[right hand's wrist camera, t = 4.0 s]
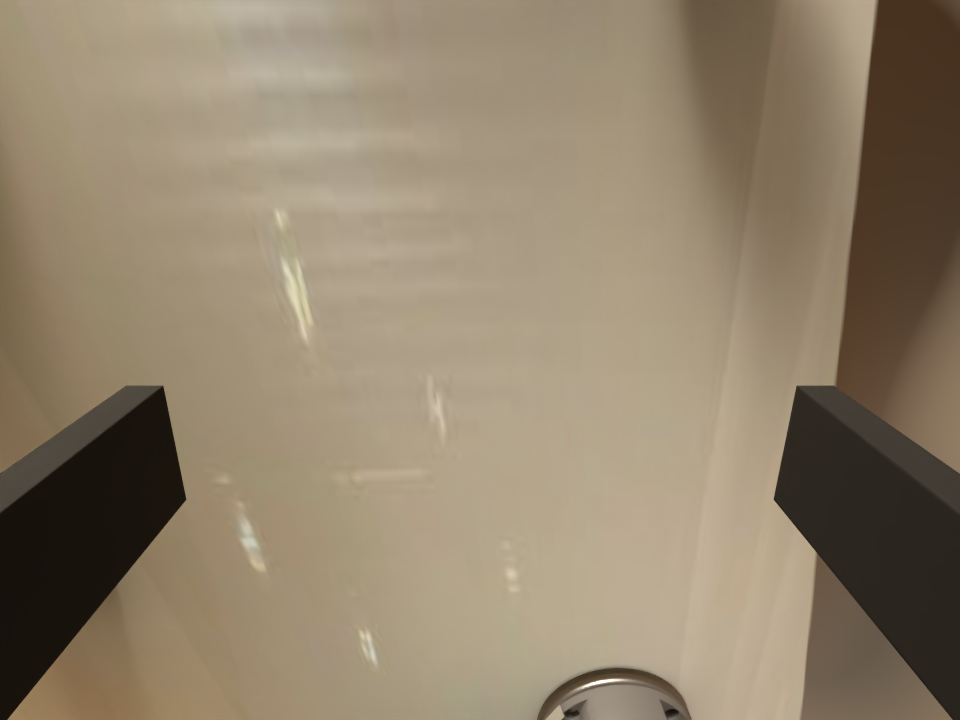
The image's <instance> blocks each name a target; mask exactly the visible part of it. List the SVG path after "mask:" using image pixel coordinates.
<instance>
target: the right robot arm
mask: <svg viewBox="0 0 960 720" xmlns="http://www.w3.org/2000/svg"><path fill="white" fill-rule="evenodd" d="M185 500H186V496H185V491H184V486H183V481H182V476H181V471H180V466H179V461H178V456H177V451H176V446H175V441H174V436H173V432H172V427H171V422H170V417H169V412H168V407H167V402H166V397H165V392H164V387H163V386H125V387H124V388H122V389H121V390H120V391H118V392H117V393H115V394H114V395H112V396H111V397H110V398H108V399H107V400H105V401H104V402H102V403H101V404H100V405H98V406H97V407H95V408H94V409H92V410H91V411H90V412H88V413H87V414H85V415H84V416H82V417H81V418H79V419H78V420H77V421H75V422H74V423H72V424H71V425H69V426H68V427H67V428H65V429H64V430H62V431H61V432H59V433H58V434H57V435H55V436H54V437H52V438H51V439H49V440H48V441H47V442H45V443H44V444H42V445H41V446H39V447H38V448H37V449H35V450H34V451H32V452H31V453H29V454H28V455H27V456H25V457H24V458H22V459H21V460H19V461H18V462H17V463H15V464H14V465H12V466H11V467H9V468H8V469H7V470H5V471H4V472H2V473H1V474H0V720H7V719H8V718H9V717H10V716H11V714H12V713H13V712H14V711H15V709H16V708H17V707H18V706H19V704H20V703H21V702H22V701H23V700H24V698H25V697H26V696H27V695H28V693H29V692H30V691H31V690H32V689H33V687H34V686H35V685H36V684H37V682H38V681H39V680H40V679H41V677H42V676H43V675H44V674H45V673H46V671H47V670H48V669H49V668H50V666H51V665H52V664H53V663H54V661H55V660H56V659H57V658H58V657H59V655H60V654H61V653H62V652H63V650H64V649H65V648H66V647H67V646H68V644H69V643H70V642H71V641H72V639H73V638H74V637H75V636H76V634H77V633H78V632H79V631H80V630H81V628H82V627H83V626H84V625H85V623H86V622H87V621H88V620H89V618H90V617H91V616H92V615H93V614H94V612H95V611H96V610H97V609H98V607H99V606H100V605H101V604H102V602H103V601H104V600H105V599H106V598H107V596H108V595H109V594H110V593H111V591H112V590H113V589H114V588H115V587H116V585H117V584H118V583H119V582H120V580H121V579H122V578H123V577H124V575H125V574H126V573H127V572H128V571H129V569H130V568H131V567H132V566H133V564H134V563H135V562H136V561H137V559H138V558H139V557H140V556H141V555H142V553H143V552H144V551H145V550H146V548H147V547H148V546H149V545H150V543H151V542H152V541H153V540H154V539H155V537H156V536H157V535H158V534H159V532H160V531H161V530H162V529H163V528H164V526H165V525H166V524H167V523H168V521H169V520H170V519H171V518H172V516H173V515H174V514H175V513H176V512H177V510H178V509H179V508H180V507H181V505H182V504H183V503H184V502H185ZM774 500H775V502H776V503H777V504H778V505H779V507H780V508H781V509H782V510H783V512H784V513H785V514H786V515H787V516H788V518H789V519H790V520H791V521H792V523H793V524H794V525H795V526H796V528H797V529H798V530H799V531H800V532H801V534H802V535H803V536H804V537H805V539H806V540H807V541H808V542H809V543H810V545H811V546H812V547H813V548H814V550H815V551H816V552H817V553H818V555H819V556H820V557H821V558H822V559H823V561H824V562H825V563H826V564H827V566H828V567H829V568H830V569H831V570H832V572H833V573H834V574H835V575H836V577H837V578H838V579H839V580H840V581H841V583H842V584H843V585H844V586H845V588H846V589H847V590H848V591H849V593H850V594H851V595H852V596H853V598H854V599H855V600H856V601H857V602H858V604H859V605H860V606H861V607H862V609H863V610H864V611H865V612H866V614H867V615H868V616H869V617H870V618H871V620H872V621H873V622H874V623H875V625H876V626H877V627H878V628H879V630H880V631H881V632H882V633H883V634H884V636H885V637H886V638H887V639H888V641H889V642H890V643H891V644H892V645H893V647H894V648H895V649H896V650H897V652H898V653H899V654H900V655H901V657H902V658H903V659H904V660H905V661H906V663H907V664H908V665H909V666H910V668H911V669H912V670H913V671H914V673H915V674H916V675H917V676H918V677H919V679H920V680H921V681H922V682H923V684H924V685H925V686H926V687H927V689H928V690H929V691H930V692H931V693H932V695H933V696H934V697H935V698H936V700H937V701H938V702H939V703H940V704H941V706H942V707H943V708H944V709H945V711H946V712H947V713H948V714H949V716H950V717H951V718H952V719H953V720H960V474H959V473H958V472H956V471H955V470H953V469H952V468H951V467H949V466H948V465H946V464H945V463H943V462H942V461H941V460H939V459H938V458H936V457H935V456H933V455H932V454H931V453H929V452H928V451H926V450H925V449H923V448H922V447H921V446H919V445H918V444H916V443H915V442H913V441H912V440H910V439H909V438H908V437H906V436H905V435H903V434H902V433H901V432H899V431H898V430H896V429H895V428H893V427H892V426H891V425H889V424H888V423H886V422H885V421H883V420H882V419H881V418H879V417H878V416H876V415H875V414H873V413H872V412H870V411H869V410H868V409H866V408H865V407H863V406H862V405H860V404H859V403H858V402H856V401H855V400H853V399H852V398H850V397H849V396H848V395H846V394H845V393H843V392H842V391H840V390H839V389H838V388H836V387H835V386H797V387H796V392H795V397H794V402H793V407H792V412H791V417H790V422H789V427H788V432H787V436H786V441H785V446H784V451H783V456H782V461H781V466H780V471H779V476H778V481H777V486H776V491H775V496H774ZM537 720H692V719H691V717H690V714H689V711H688V708H687V706H686V703H685V701H684V699H683V698H682V696H681V694H680V693H679V692H678V691H677V690H676V689H675V688H674V687H673V686H672V685H671V684H669V683H668V682H666V681H665V680H663V679H662V678H659V677H657V676H655V675H653V674H650V673H647V672H643V671H639V670H634V669H623V668H614V669H603V670H598V671H593V672H589V673H586V674H583V675H580V676H578V677H576V678H574V679H572V680H570V681H568V682H566V683H565V684H563V685H562V686H560V687H559V688H558V689H556V690H555V691H554V692H553V693H552V694H551V695H550V696H549V697H548V699H547V700H546V701H545V703H544V704H543V706H542V708H541V710H540V712H539V715H538V719H537Z"/></svg>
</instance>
